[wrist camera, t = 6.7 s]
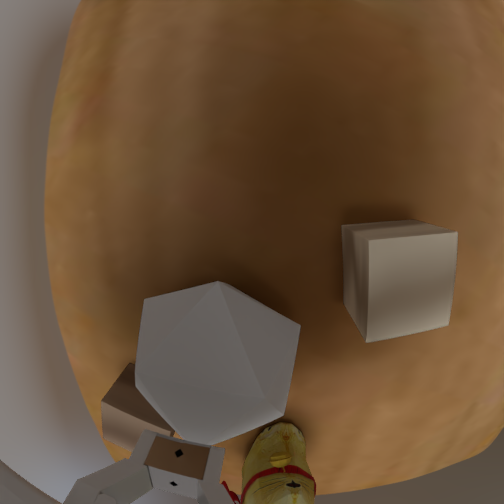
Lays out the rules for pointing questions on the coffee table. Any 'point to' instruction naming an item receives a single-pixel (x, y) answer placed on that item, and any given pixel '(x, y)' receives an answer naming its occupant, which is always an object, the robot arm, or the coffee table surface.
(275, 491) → the chocolate bunny
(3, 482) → the robot arm
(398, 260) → the beech block
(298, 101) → the coffee table surface
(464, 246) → the coffee table surface
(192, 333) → the die
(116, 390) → the walnut block
